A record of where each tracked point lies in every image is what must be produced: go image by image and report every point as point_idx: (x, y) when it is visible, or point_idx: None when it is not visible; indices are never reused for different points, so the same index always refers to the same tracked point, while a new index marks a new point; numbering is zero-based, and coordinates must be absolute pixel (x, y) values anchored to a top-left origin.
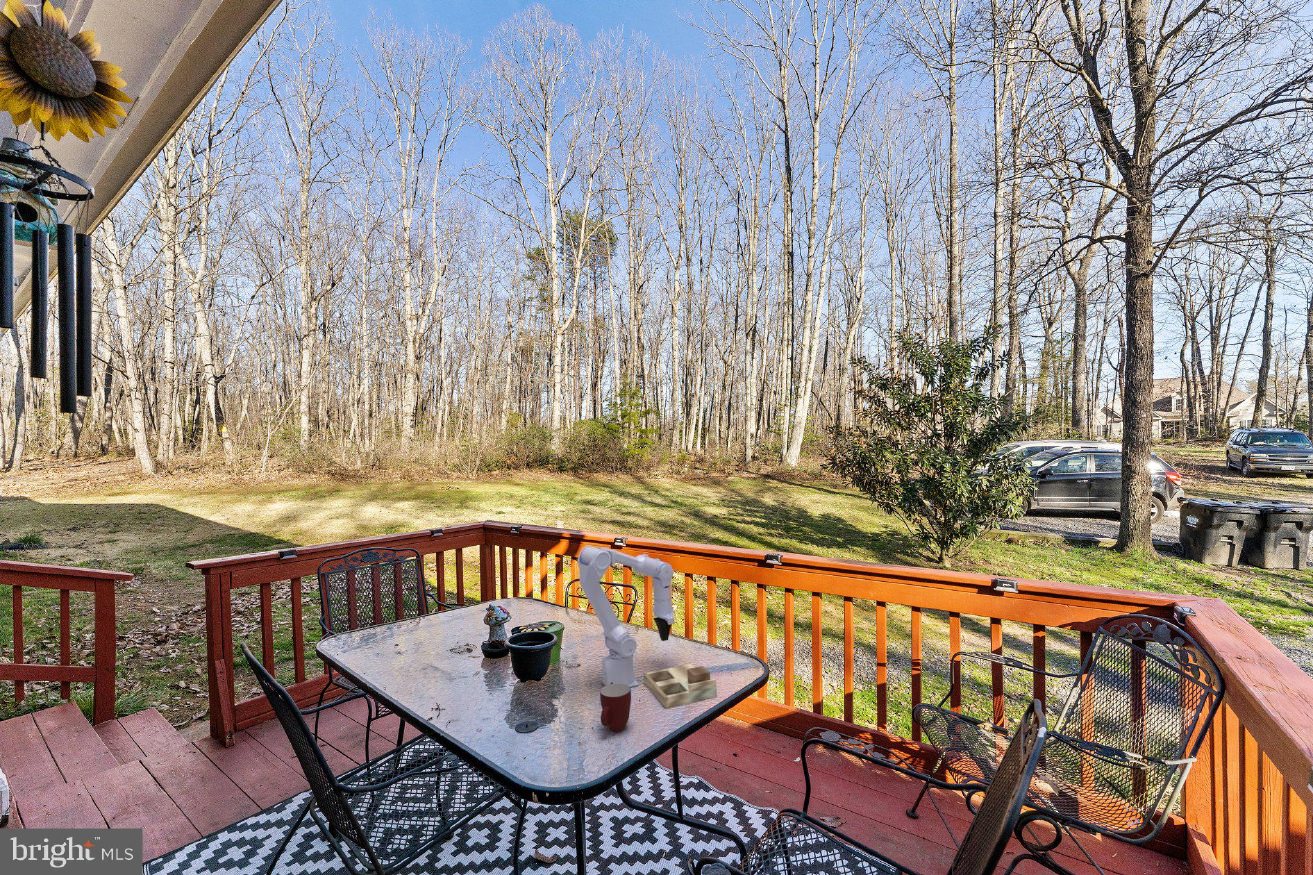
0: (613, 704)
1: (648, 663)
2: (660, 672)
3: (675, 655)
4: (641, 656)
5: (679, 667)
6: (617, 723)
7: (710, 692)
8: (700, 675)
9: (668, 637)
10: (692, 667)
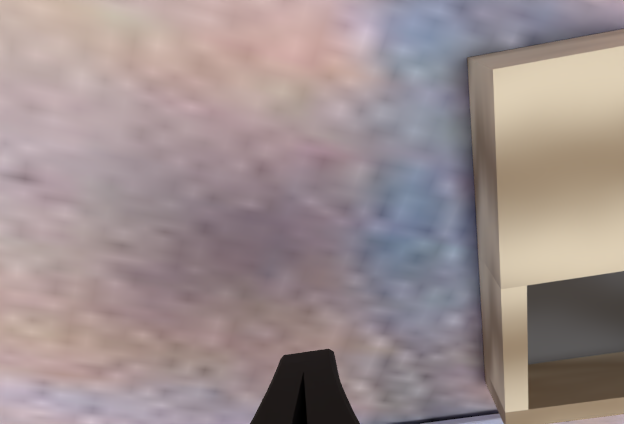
0: None
1: (187, 317)
2: (523, 328)
3: (60, 104)
4: (53, 340)
5: (523, 188)
6: None
7: None
8: None
9: (335, 365)
10: (577, 75)
